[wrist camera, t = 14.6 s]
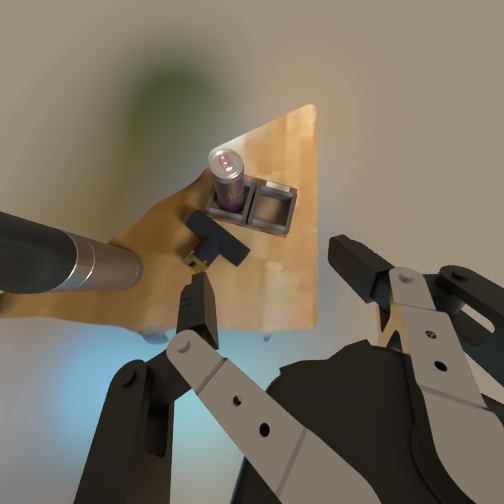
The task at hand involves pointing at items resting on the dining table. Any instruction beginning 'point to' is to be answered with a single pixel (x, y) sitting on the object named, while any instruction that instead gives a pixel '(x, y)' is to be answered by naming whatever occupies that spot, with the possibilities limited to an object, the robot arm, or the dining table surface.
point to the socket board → (258, 207)
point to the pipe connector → (212, 243)
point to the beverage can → (228, 179)
